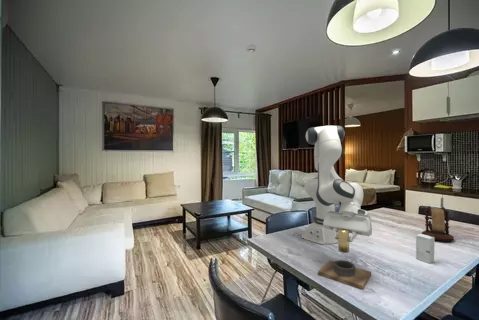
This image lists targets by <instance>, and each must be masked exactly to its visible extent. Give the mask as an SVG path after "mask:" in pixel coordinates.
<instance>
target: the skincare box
mask: <svg viewBox="0 0 479 320" xmlns="http://www.w3.org/2000/svg"><path fill="white" fill-rule="evenodd" d="M415 239H416V240H415V241H416V242H415V259H416V260H419V261H422V262H425V263H427V264H432V263H434V262H435V245H436V244H435V240H436V239H435V238H434V237H431V236H428V235H424V234H422V233H419V234H416V235H415Z"/></svg>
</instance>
